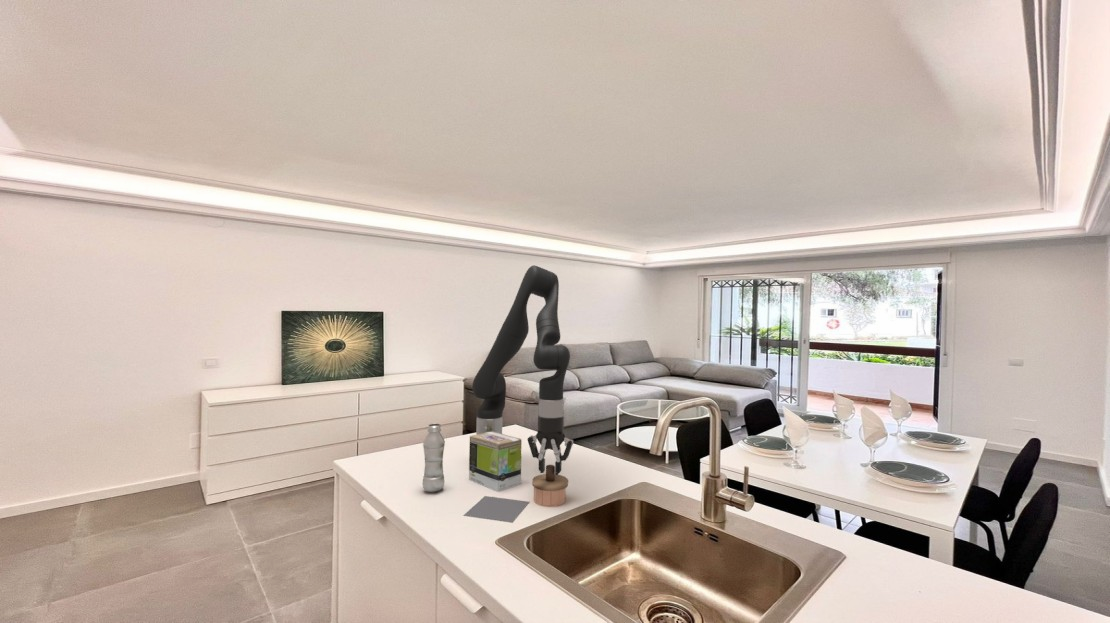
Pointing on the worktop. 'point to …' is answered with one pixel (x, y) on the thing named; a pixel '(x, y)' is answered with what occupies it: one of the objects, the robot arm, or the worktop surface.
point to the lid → (550, 480)
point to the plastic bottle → (433, 459)
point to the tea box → (495, 460)
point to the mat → (497, 509)
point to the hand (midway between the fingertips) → (550, 472)
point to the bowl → (549, 497)
